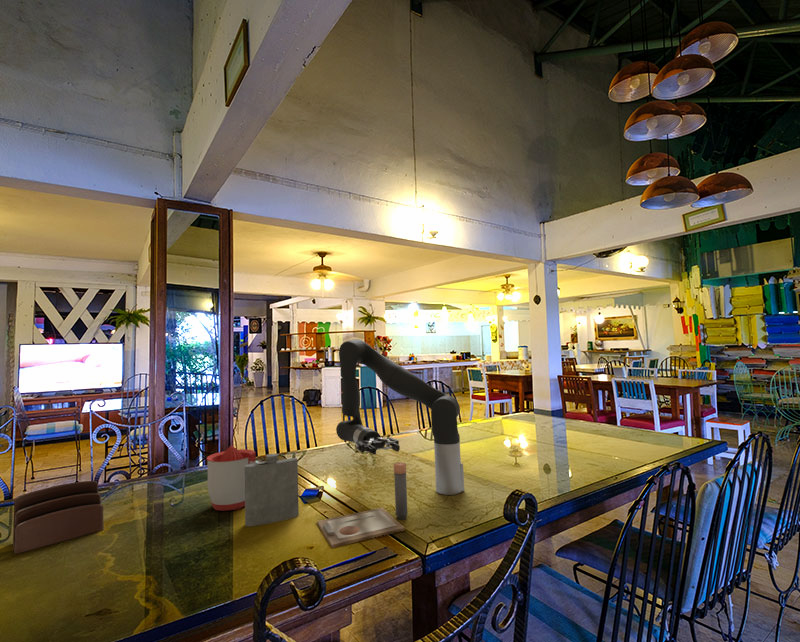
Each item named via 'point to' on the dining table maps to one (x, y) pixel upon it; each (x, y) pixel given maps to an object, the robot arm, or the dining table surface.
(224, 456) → the citrus juicer
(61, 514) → the letter holder
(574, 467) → the dining table surface
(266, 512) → the hip flask
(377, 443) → the robot arm
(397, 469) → the marker
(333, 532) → the clipboard
